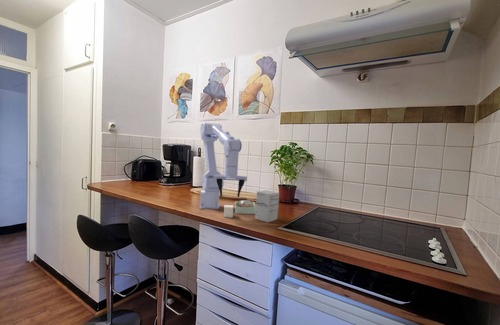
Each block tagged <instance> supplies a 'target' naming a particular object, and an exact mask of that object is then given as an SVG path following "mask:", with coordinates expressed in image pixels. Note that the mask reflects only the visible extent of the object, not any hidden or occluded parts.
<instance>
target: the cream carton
mask: <svg viewBox="0 0 500 325" xmlns="http://www.w3.org/2000/svg"><path fill="white" fill-rule="evenodd" d="M233 217H234V205H233V204H231V205H230V204H229V205H228V204H224V206H223V218H233Z"/></svg>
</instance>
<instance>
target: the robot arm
mask: <svg viewBox="0 0 500 325" xmlns="http://www.w3.org/2000/svg"><path fill="white" fill-rule="evenodd" d="M199 132H200V138H201V139H200V140H202V141H203V146H204V156H205V163H206V164H205V165H206V172H205V173H204V174H203V175H202V178H201V186H202V187H201V188H202V189H201V190H200V201H199V209H203V210H205V209H211V210H212V209H213V210H219V209H220V206H221V205H220V197H223V188H224V181H238V188H237V198H240V193H241V192H242V189H243V187H244V184H245V183H246V182H247V181H248V176H243V175H238V171H239V170H238V169H239V167H238V166H239V153H241V150H242V145H243V144H242V141H241V140H240V138H239V139H235V136H232V135H231V134H230V132H229V131H224V130H223V127H222V125H221V124H220V123H212V122H205V121H203V122H202V123H201V125H200V129H199ZM217 140H218V141H219V142H220V144H222V145H223V150H224V153H223V154H224V156H225V159H224V174H222V173H220V172H219V171H218V170H217V162H216V161H217V160H216V155H215V153H216V152H215V146H214V143H215V142H216V141H217Z"/></svg>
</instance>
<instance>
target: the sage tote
mask: <svg viewBox="0 0 500 325" xmlns="http://www.w3.org/2000/svg"><path fill="white" fill-rule="evenodd" d="M239 203H240V200H237V201H235V202H234V214H243V215H246V214H247V215H255V214H256V203H255V201H251V207H239Z"/></svg>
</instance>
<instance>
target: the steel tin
mask: <svg viewBox="0 0 500 325" xmlns="http://www.w3.org/2000/svg"><path fill="white" fill-rule="evenodd" d="M239 202H240V203H239V207H251V202H252V201H251V200H248V199H243V200H242V199H241V200H239Z"/></svg>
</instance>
